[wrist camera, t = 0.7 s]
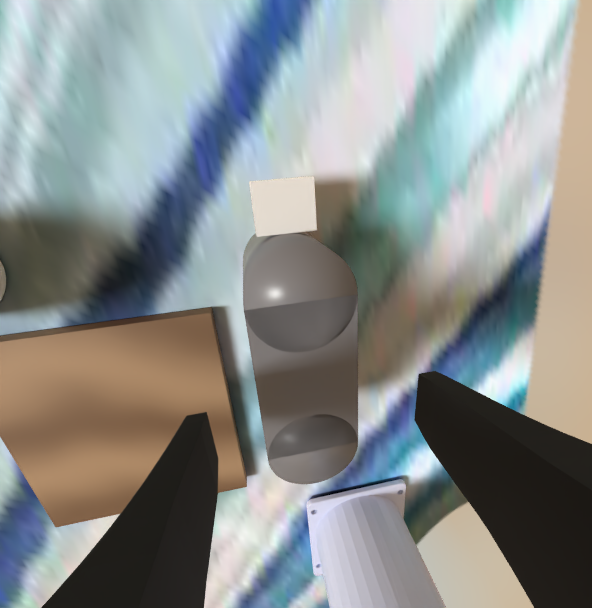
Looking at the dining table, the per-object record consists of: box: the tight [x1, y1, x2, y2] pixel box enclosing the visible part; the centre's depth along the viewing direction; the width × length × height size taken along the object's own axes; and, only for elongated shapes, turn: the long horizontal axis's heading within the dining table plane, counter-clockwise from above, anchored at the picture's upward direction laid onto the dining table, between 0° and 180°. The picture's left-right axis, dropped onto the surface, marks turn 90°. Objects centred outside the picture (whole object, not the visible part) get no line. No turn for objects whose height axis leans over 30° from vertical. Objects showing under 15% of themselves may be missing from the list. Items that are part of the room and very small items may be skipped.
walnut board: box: [0, 307, 247, 527], centre depth 17 cm, size 13×12×1 cm
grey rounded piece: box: [243, 176, 358, 484], centre depth 14 cm, size 13×4×6 cm, turn 5°
